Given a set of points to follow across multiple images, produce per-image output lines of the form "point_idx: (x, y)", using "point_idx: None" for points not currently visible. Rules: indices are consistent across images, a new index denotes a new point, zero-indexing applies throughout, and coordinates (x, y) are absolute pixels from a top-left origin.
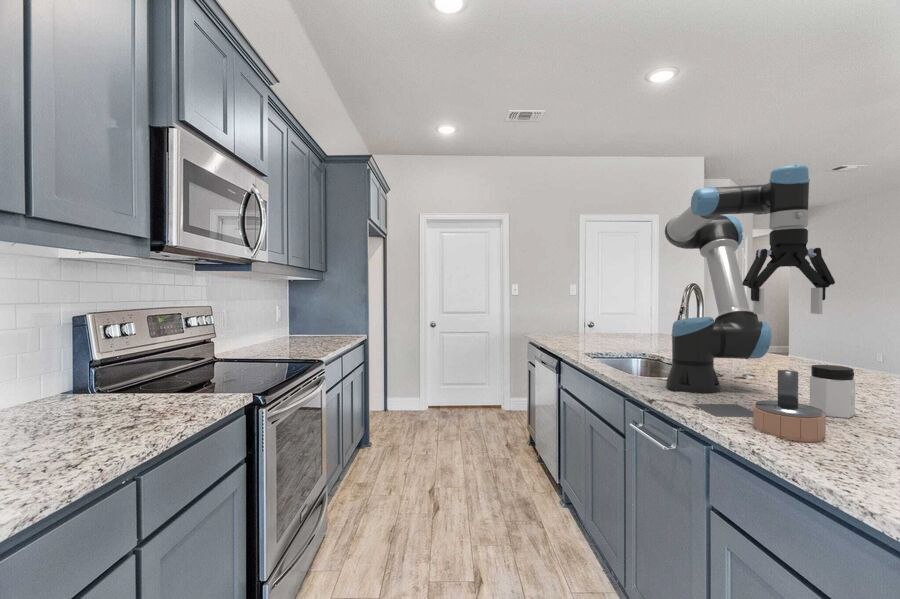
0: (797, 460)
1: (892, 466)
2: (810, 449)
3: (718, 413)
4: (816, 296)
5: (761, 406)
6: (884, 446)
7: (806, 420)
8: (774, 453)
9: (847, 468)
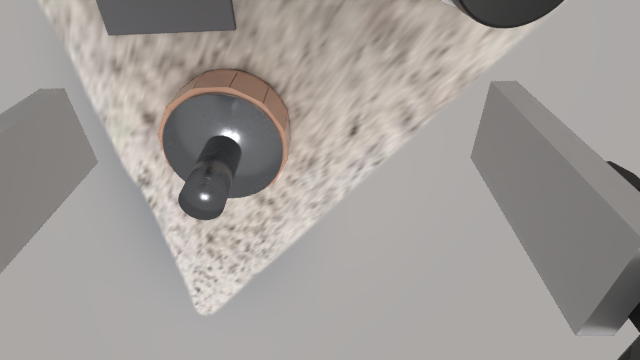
0: (186, 232)
1: (295, 240)
2: None
3: (120, 4)
4: (537, 228)
5: (167, 152)
6: (353, 177)
7: None
8: (166, 214)
9: (235, 248)
